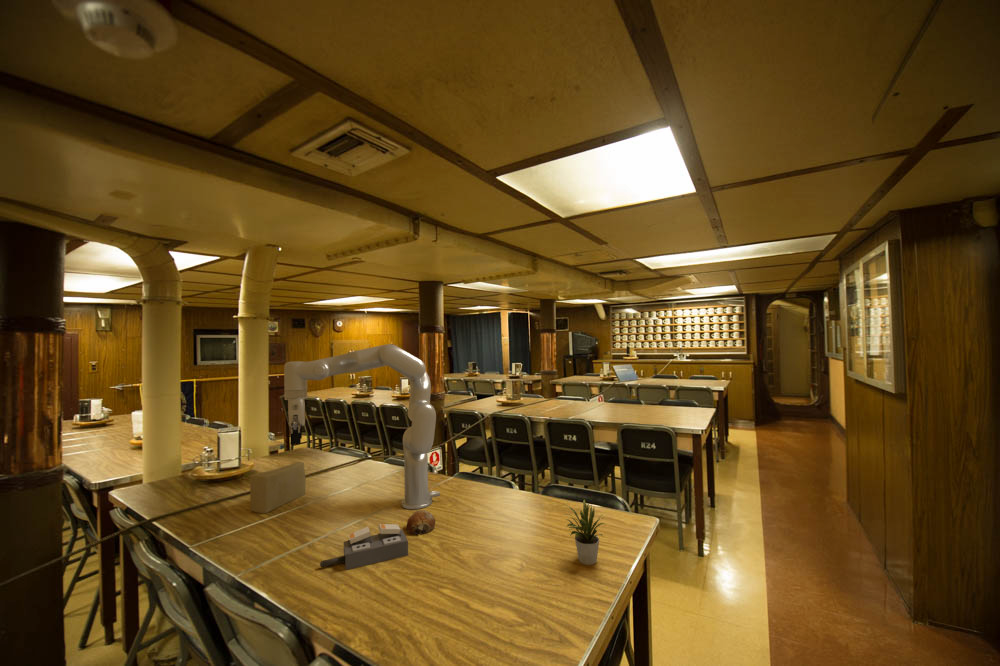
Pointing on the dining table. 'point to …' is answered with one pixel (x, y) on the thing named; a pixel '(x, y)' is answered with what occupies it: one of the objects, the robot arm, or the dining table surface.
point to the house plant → (586, 535)
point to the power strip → (371, 550)
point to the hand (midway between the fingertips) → (296, 441)
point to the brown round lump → (420, 522)
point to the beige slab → (277, 487)
